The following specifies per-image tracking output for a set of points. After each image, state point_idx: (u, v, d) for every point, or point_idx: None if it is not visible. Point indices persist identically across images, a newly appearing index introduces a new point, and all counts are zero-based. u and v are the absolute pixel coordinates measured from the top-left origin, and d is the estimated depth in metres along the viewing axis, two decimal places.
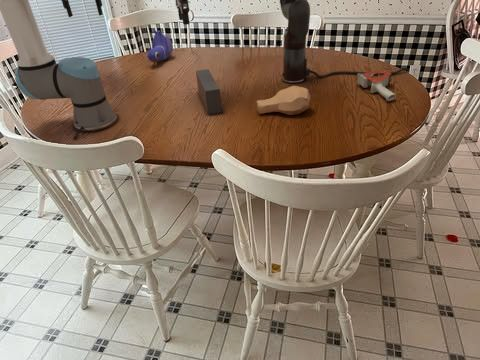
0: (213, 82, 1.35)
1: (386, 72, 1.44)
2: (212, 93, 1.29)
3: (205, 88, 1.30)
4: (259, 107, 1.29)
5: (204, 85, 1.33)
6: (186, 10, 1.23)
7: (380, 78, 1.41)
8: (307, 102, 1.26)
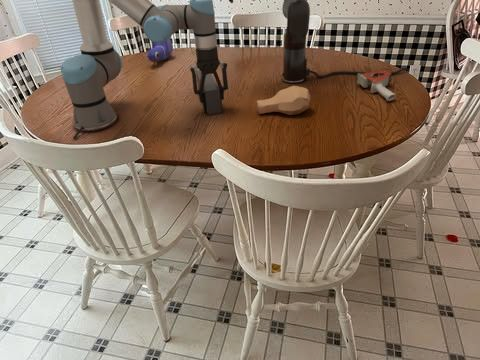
0: (213, 82, 1.34)
1: (386, 72, 1.44)
2: (212, 93, 1.29)
3: (205, 88, 1.30)
4: (259, 107, 1.29)
5: (204, 85, 1.33)
6: None
7: (380, 78, 1.41)
8: (307, 102, 1.26)
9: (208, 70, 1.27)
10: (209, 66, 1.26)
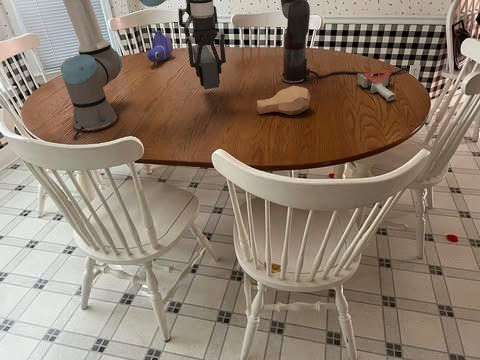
0: (210, 55, 1.29)
1: (386, 72, 1.44)
2: (209, 66, 1.23)
3: (202, 61, 1.24)
4: (259, 107, 1.29)
5: (201, 58, 1.27)
6: None
7: (380, 78, 1.41)
8: (307, 102, 1.26)
9: (205, 41, 1.21)
10: (206, 37, 1.20)
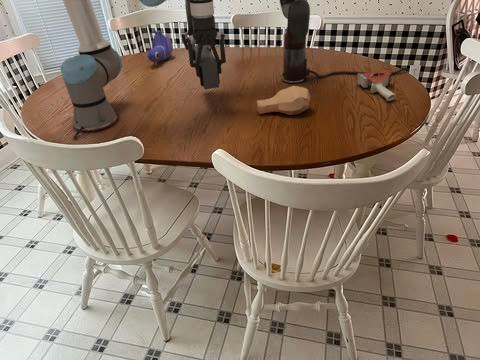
0: (210, 55, 1.29)
1: (386, 72, 1.44)
2: (209, 66, 1.23)
3: (202, 61, 1.24)
4: (259, 107, 1.29)
5: (201, 58, 1.27)
6: None
7: (380, 78, 1.41)
8: (307, 102, 1.26)
9: (205, 41, 1.21)
10: (206, 37, 1.20)
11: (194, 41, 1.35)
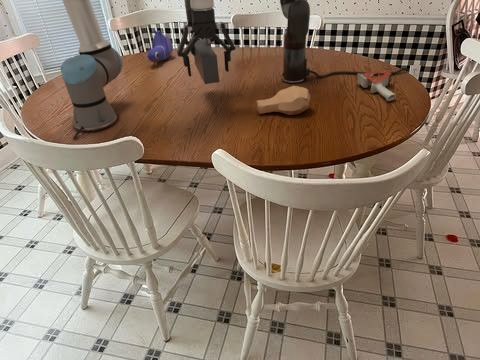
0: (210, 50, 1.28)
1: (386, 72, 1.44)
2: (209, 60, 1.22)
3: (201, 55, 1.23)
4: (259, 107, 1.29)
5: (200, 53, 1.26)
6: None
7: (380, 78, 1.41)
8: (307, 102, 1.26)
9: (204, 34, 1.19)
10: (205, 30, 1.18)
11: None
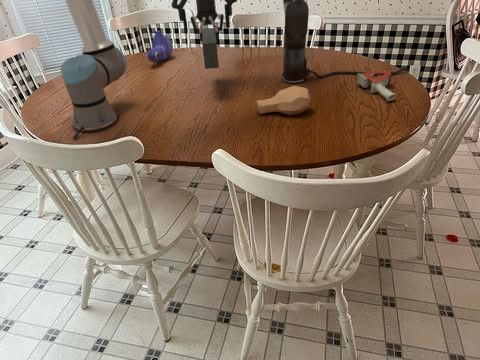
0: (213, 37, 1.38)
1: (386, 72, 1.44)
2: (209, 46, 1.33)
3: (203, 42, 1.34)
4: (259, 107, 1.29)
5: (203, 39, 1.36)
6: None
7: (380, 78, 1.41)
8: (307, 102, 1.26)
9: None
10: None
11: (202, 24, 1.45)
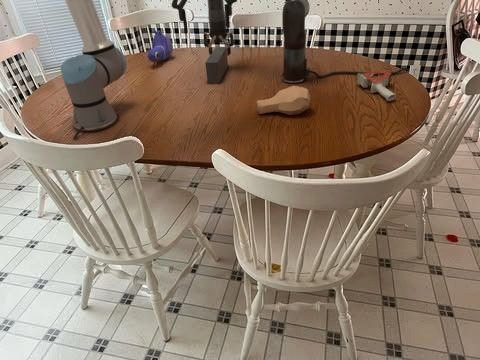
0: (218, 57, 1.59)
1: (386, 72, 1.44)
2: (211, 65, 1.55)
3: (207, 60, 1.56)
4: (259, 107, 1.29)
5: (209, 58, 1.59)
6: (233, 44, 1.67)
7: (380, 78, 1.41)
8: (307, 102, 1.26)
9: None
10: None
11: (213, 41, 1.66)
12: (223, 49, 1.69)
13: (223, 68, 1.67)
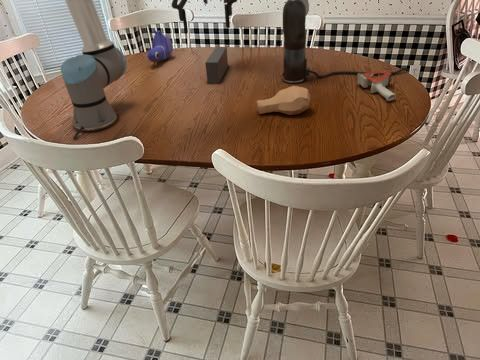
0: (218, 57, 1.59)
1: (386, 72, 1.44)
2: (211, 65, 1.55)
3: (207, 60, 1.56)
4: (259, 107, 1.29)
5: (209, 58, 1.59)
6: None
7: (380, 78, 1.41)
8: (307, 102, 1.26)
9: None
10: None
11: None
12: (223, 49, 1.69)
13: (223, 68, 1.67)
